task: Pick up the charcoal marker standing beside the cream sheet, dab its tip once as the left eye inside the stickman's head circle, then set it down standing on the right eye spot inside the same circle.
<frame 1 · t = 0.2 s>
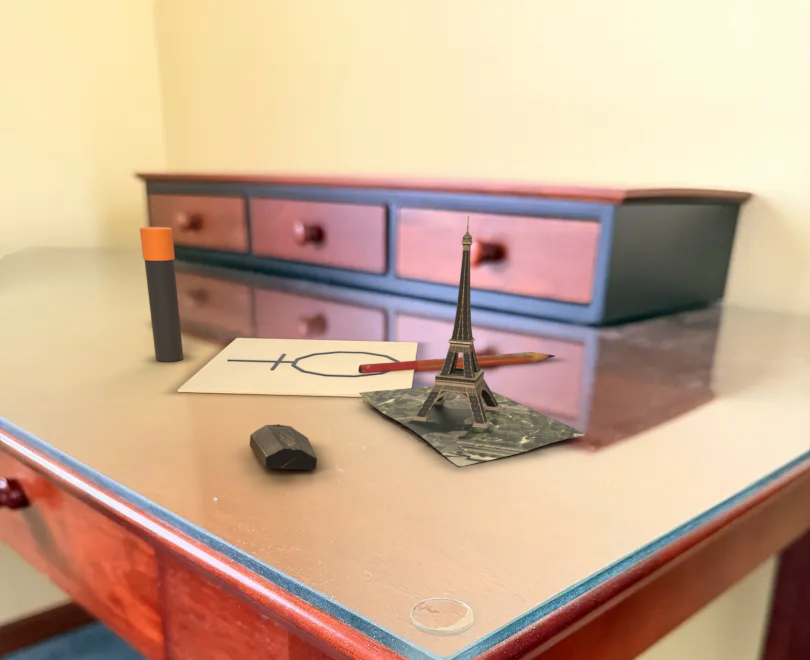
eiffel tower figurine: (464, 424, 57), on the table, touching paper
block: (285, 464, 49), on the table
pencil: (461, 370, 73), on the table, touching paper
marker: (169, 359, 73), on the table
paper: (312, 365, 72), on the table
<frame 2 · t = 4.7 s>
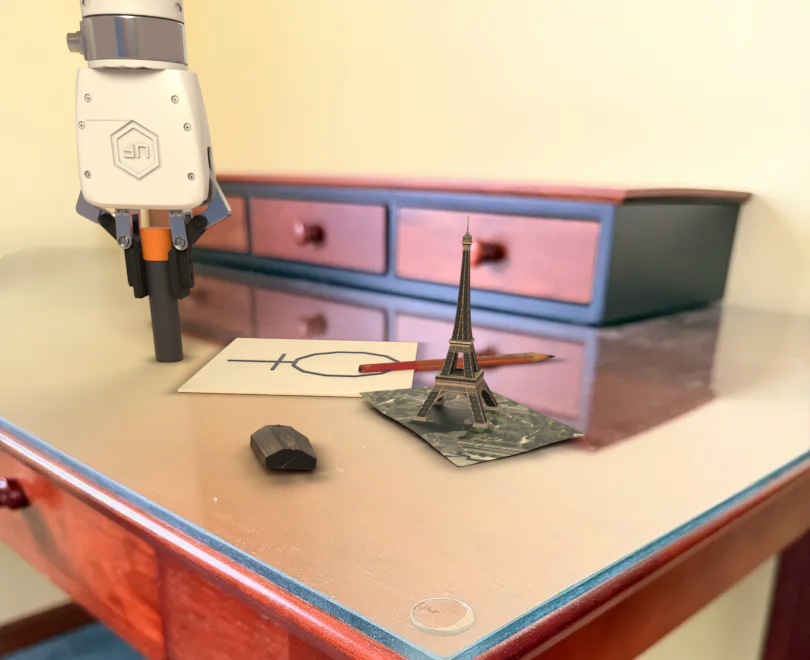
hand: (162, 294, 71), 6 cm above the table, tool pointing down, fingers closed on marker, 2 cm apart
pencil: (461, 370, 73), on the table
marker: (169, 359, 73), on the table, touching gripper
everything else where it was.
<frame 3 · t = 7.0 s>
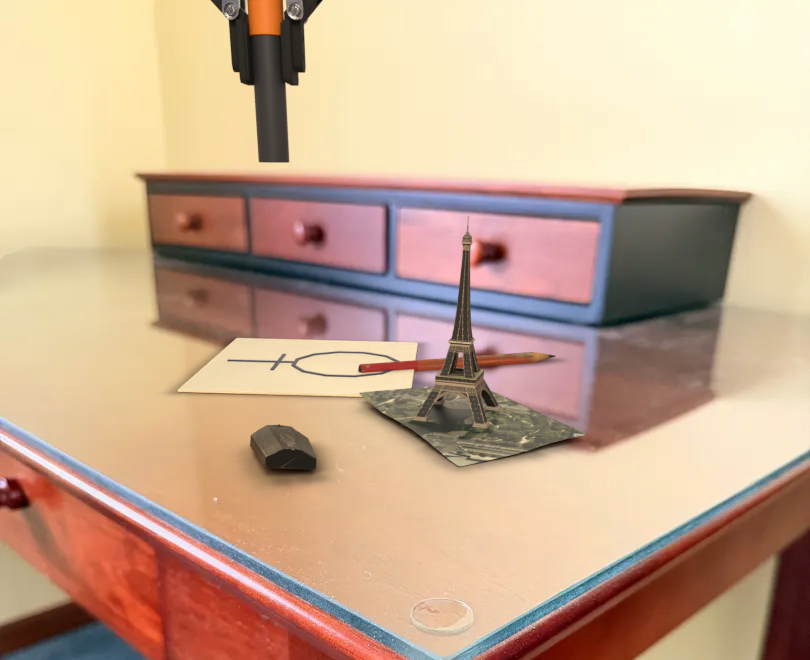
hand: (270, 81, 62), 22 cm above the table, tool pointing down, fingers closed on marker, 2 cm apart
pencil: (461, 370, 73), on the table, touching paper
marker: (274, 162, 65), point 16 cm above the table, touching gripper
everything else where it was.
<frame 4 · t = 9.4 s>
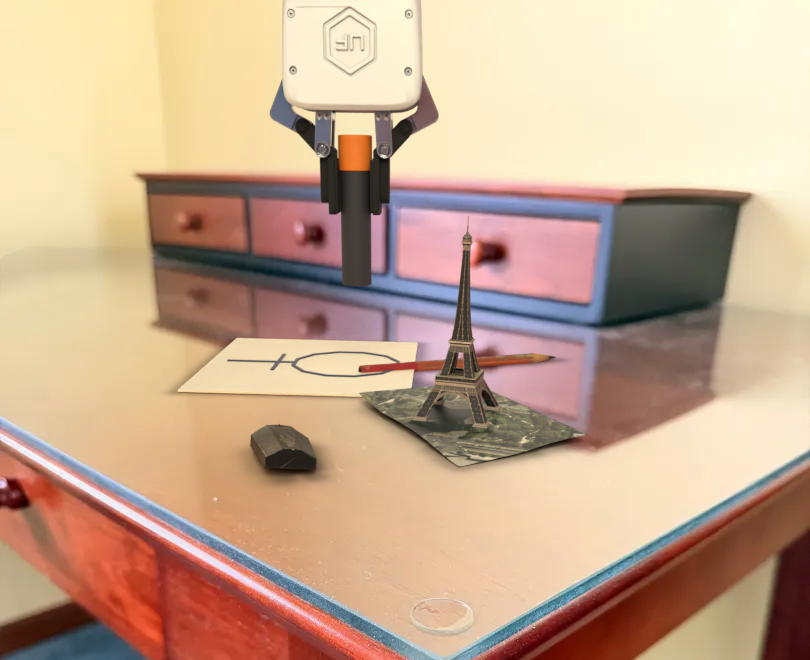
hand: (356, 211, 65), 13 cm above the table, tool pointing down, fingers closed on marker, 2 cm apart
pencil: (461, 371, 73), on the table
marker: (356, 284, 67), point 7 cm above the table, touching gripper
everything else where it was.
when the fingers open (6 cm above the table, at t = 14.4 s): marker stays where it is, resting on paper.
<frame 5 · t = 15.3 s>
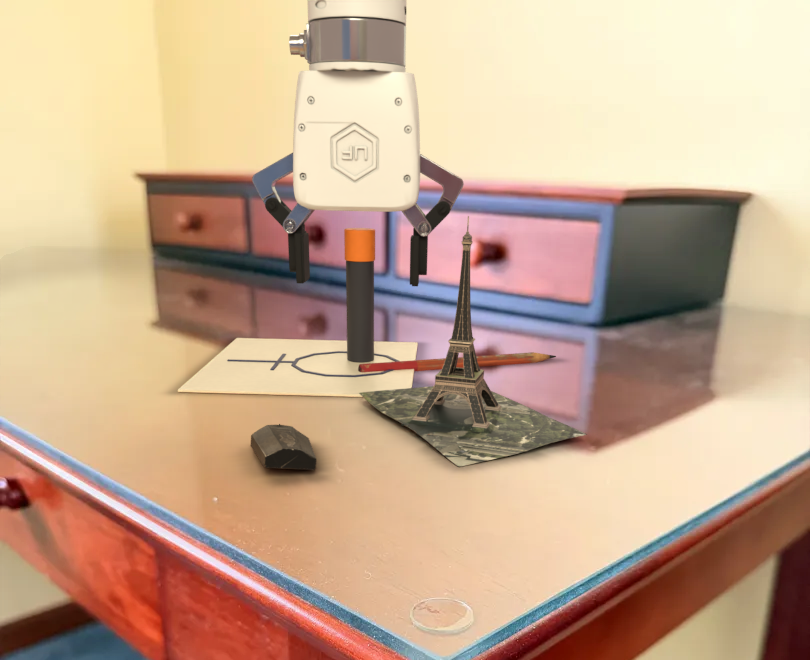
hand: (358, 282, 71), 7 cm above the table, tool pointing down, fingers open, 9 cm apart
marker: (360, 359, 73), resting on paper
everything else where it was.
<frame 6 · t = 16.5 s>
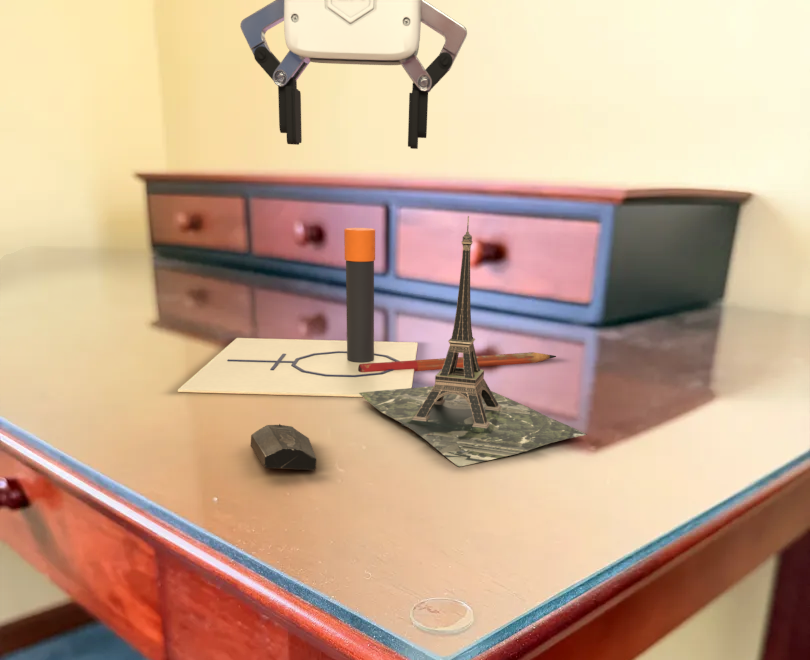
hand: (353, 146, 66), 17 cm above the table, tool pointing down, fingers open, 9 cm apart
nothing on the table moved.
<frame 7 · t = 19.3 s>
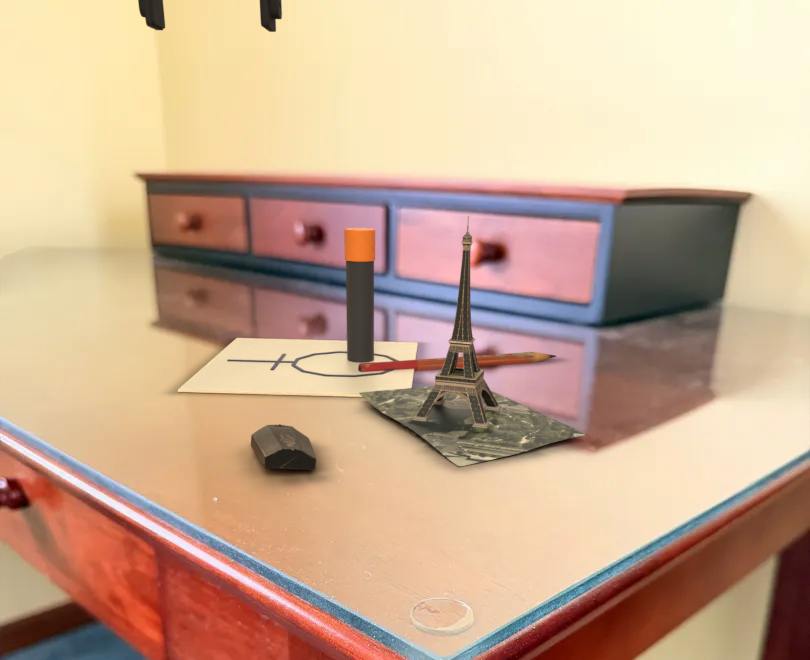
hand: (212, 28, 69), 26 cm above the table, tool pointing down, fingers open, 9 cm apart
pencil: (461, 370, 73), on the table, touching paper
everything else where it was.
at the end: marker 1.9 cm from the target spot on the paper, point 0.2 cm above the paper's base; marker tilted 0°; marker touching paper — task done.
